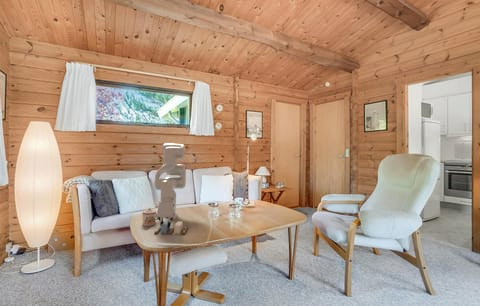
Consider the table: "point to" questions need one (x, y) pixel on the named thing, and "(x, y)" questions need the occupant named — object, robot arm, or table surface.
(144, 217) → the teacup with lid
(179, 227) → the ivory stub
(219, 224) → the table surface
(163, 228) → the blue stub
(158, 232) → the slot rack
